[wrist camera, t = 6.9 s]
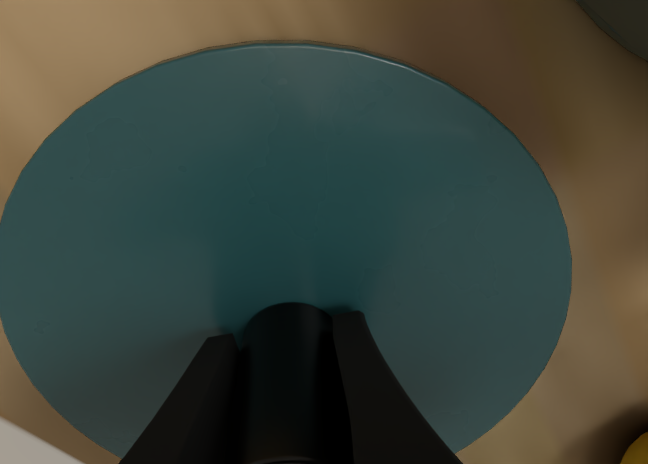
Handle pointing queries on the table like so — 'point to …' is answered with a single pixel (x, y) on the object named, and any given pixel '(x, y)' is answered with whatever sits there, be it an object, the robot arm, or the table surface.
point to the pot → (622, 22)
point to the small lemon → (637, 451)
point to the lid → (282, 247)
